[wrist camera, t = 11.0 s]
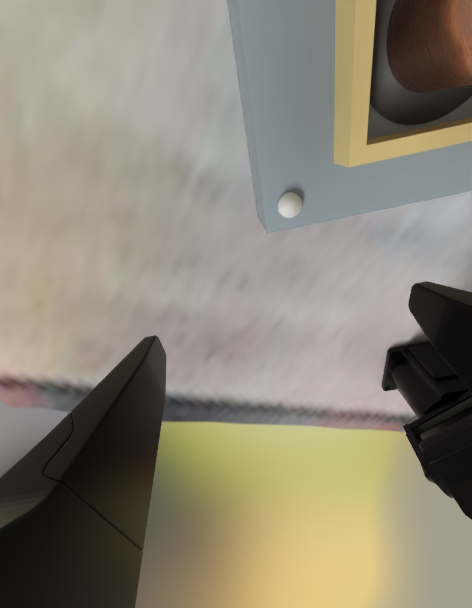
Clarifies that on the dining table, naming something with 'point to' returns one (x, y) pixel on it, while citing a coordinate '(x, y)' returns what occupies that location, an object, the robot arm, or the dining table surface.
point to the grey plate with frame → (340, 114)
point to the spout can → (430, 44)
